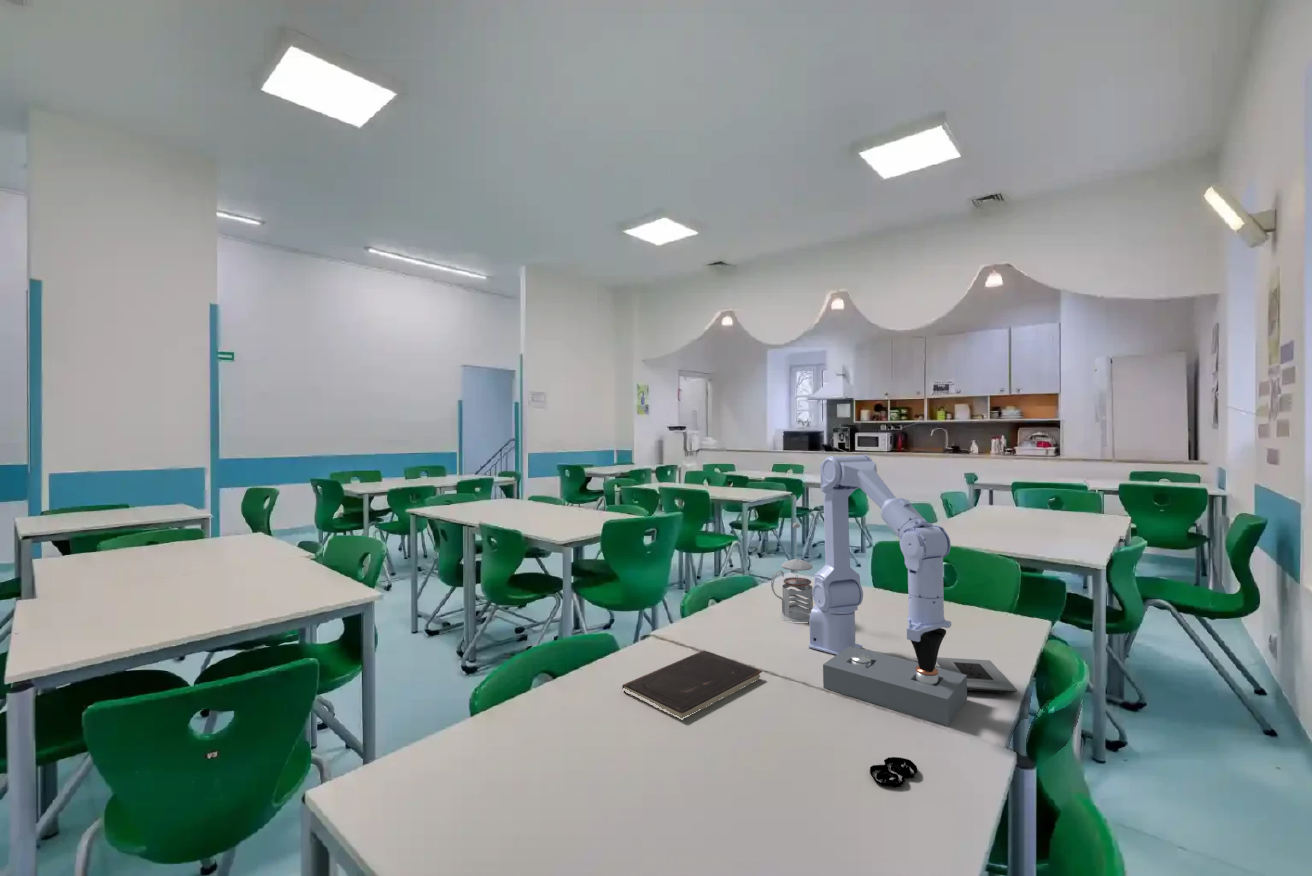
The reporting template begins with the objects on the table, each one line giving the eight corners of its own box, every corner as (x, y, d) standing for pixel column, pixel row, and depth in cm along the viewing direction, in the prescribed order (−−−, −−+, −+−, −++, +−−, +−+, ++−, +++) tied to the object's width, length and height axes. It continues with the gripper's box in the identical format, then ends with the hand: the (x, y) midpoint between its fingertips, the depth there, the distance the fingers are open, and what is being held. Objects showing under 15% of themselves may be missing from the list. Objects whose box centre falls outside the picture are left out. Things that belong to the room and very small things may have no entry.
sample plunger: (848, 682, 110) (848, 658, 110) (856, 676, 112) (855, 652, 112) (867, 687, 107) (866, 663, 107) (874, 681, 110) (874, 657, 110)
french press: (821, 623, 144) (820, 525, 144) (776, 624, 144) (774, 526, 144) (811, 611, 154) (810, 519, 154) (769, 611, 154) (767, 520, 154)
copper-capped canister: (913, 696, 102) (913, 669, 101) (919, 688, 104) (919, 663, 104) (934, 702, 99) (934, 675, 99) (941, 694, 102) (940, 668, 102)
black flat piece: (926, 775, 81) (925, 767, 81) (893, 796, 77) (892, 788, 77) (894, 759, 86) (894, 752, 86) (861, 778, 81) (861, 771, 81)
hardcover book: (762, 682, 113) (761, 670, 113) (682, 725, 97) (681, 712, 97) (702, 659, 125) (702, 649, 125) (622, 695, 109) (621, 683, 109)
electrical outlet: (1017, 701, 103) (1017, 687, 103) (954, 696, 105) (954, 683, 105) (989, 670, 116) (989, 659, 116) (934, 667, 118) (934, 655, 118)
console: (823, 687, 109) (822, 664, 109) (849, 667, 118) (849, 646, 118) (947, 726, 94) (947, 699, 94) (967, 699, 103) (966, 675, 103)
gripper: (937, 608, 93) (938, 690, 94) (961, 588, 104) (962, 662, 104) (893, 600, 98) (895, 678, 98) (920, 582, 109) (922, 652, 109)
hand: (926, 669), depth 102 cm, fingers closed, pressing on copper-capped canister
